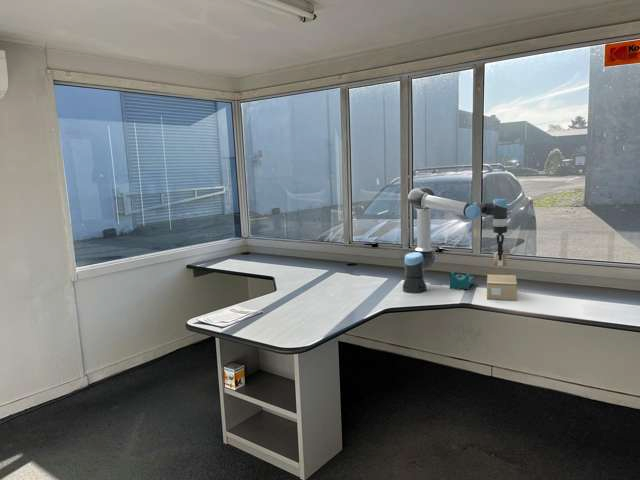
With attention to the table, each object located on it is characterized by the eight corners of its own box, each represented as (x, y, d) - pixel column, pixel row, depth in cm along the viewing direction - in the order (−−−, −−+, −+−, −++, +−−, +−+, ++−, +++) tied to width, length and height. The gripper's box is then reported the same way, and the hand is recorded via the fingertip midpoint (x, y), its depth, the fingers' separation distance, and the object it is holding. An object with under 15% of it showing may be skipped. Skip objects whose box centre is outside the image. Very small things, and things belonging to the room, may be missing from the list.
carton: (486, 299, 262) (486, 284, 261) (487, 289, 280) (487, 275, 279) (516, 300, 256) (517, 285, 255) (515, 291, 275) (515, 276, 273)
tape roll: (501, 266, 261) (501, 254, 260) (491, 264, 267) (491, 253, 266) (509, 264, 264) (509, 253, 263) (499, 263, 270) (499, 251, 269)
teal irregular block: (466, 291, 282) (468, 275, 280) (449, 288, 288) (451, 272, 285) (472, 284, 298) (474, 268, 296) (456, 281, 303) (457, 266, 301)
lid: (486, 283, 261) (486, 282, 261) (487, 275, 279) (487, 274, 279) (517, 285, 255) (517, 283, 255) (515, 276, 273) (515, 275, 273)
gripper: (507, 228, 251) (507, 268, 255) (506, 223, 270) (506, 260, 273) (493, 228, 254) (493, 267, 258) (493, 223, 272) (493, 260, 276)
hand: (500, 264), depth 266 cm, fingers closed on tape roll, 7 cm apart
